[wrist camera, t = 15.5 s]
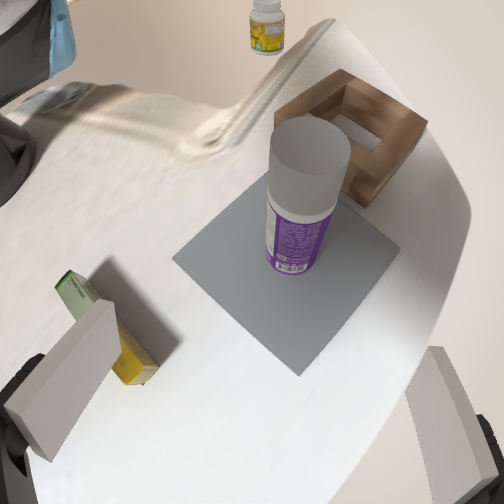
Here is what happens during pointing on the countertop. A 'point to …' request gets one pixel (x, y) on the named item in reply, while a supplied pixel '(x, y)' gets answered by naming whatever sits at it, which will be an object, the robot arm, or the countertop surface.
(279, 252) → the container
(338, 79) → the walnut box
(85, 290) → the medication box
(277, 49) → the supplement bottle
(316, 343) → the grey mat
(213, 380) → the countertop surface
